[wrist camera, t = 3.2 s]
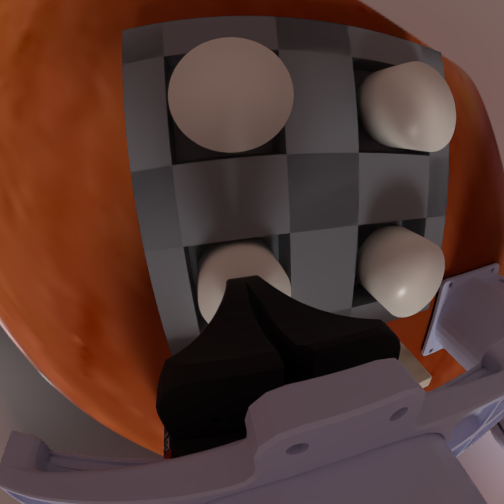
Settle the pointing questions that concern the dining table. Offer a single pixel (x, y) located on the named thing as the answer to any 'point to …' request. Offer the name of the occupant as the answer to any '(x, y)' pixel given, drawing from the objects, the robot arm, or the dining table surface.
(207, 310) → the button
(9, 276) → the dining table surface
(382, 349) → the robot arm
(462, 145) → the dining table surface
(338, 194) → the button board
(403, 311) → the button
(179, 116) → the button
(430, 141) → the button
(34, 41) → the dining table surface
